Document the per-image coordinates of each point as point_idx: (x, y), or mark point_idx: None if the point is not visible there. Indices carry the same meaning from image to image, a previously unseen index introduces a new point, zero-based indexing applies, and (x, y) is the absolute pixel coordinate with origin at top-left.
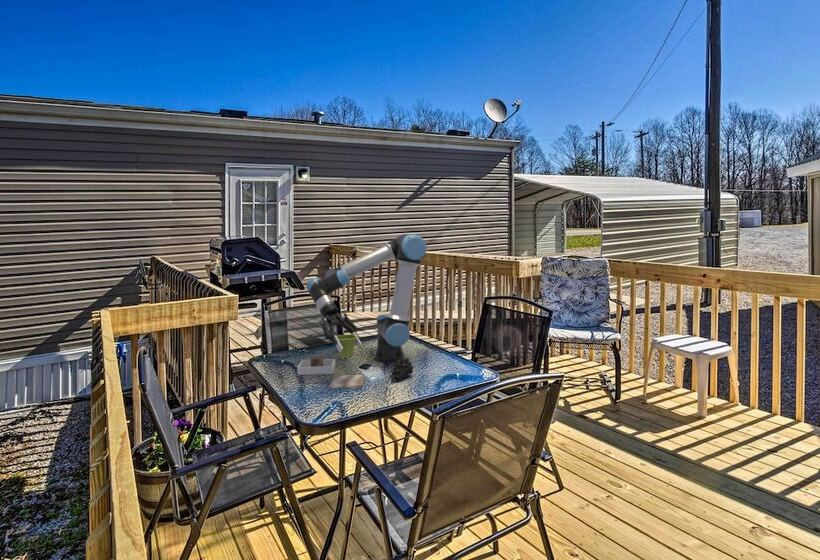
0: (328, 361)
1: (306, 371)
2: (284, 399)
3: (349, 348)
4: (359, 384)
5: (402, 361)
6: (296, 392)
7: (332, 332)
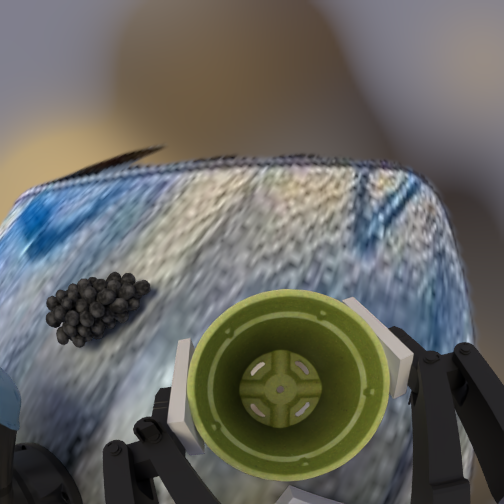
0: None
1: None
2: (470, 332)
3: (284, 331)
4: None
5: (70, 299)
6: None
7: (439, 383)
